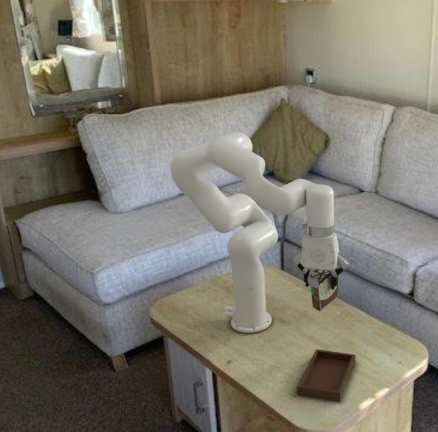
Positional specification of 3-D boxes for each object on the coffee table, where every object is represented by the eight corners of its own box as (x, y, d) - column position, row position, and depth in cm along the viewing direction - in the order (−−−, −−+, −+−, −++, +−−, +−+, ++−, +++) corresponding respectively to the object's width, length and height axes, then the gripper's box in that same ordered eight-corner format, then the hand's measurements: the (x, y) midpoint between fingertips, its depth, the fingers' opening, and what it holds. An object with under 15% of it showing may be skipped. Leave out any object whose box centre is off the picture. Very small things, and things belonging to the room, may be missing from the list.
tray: (297, 395, 163) (296, 386, 162) (316, 357, 179) (316, 349, 178) (340, 402, 161) (340, 393, 160) (355, 362, 177) (355, 354, 176)
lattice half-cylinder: (323, 290, 187) (322, 260, 184) (340, 295, 184) (340, 264, 181) (299, 308, 177) (298, 276, 174) (317, 313, 174) (317, 282, 171)
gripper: (286, 231, 170) (288, 289, 177) (348, 237, 167) (347, 295, 174) (294, 221, 177) (295, 277, 184) (353, 226, 174) (353, 283, 181)
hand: (321, 285), depth 179 cm, fingers closed on lattice half-cylinder, 7 cm apart
